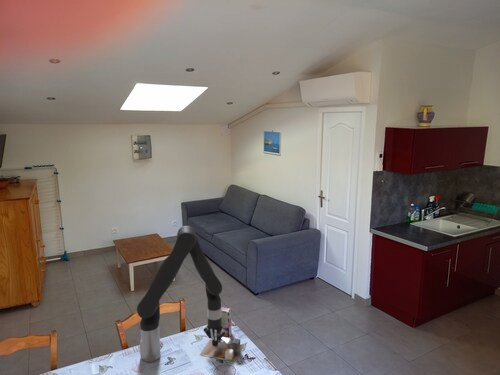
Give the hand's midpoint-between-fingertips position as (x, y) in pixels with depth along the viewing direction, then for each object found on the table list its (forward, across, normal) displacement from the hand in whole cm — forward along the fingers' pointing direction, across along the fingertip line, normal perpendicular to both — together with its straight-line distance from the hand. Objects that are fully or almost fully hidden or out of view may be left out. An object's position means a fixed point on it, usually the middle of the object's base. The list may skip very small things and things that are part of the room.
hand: (215, 345), depth 186 cm
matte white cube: (+2, +10, -4) cm, 11 cm away
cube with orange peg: (+2, +5, -2) cm, 6 cm away
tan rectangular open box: (+3, +4, 0) cm, 5 cm away
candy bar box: (+3, -2, +14) cm, 14 cm away
